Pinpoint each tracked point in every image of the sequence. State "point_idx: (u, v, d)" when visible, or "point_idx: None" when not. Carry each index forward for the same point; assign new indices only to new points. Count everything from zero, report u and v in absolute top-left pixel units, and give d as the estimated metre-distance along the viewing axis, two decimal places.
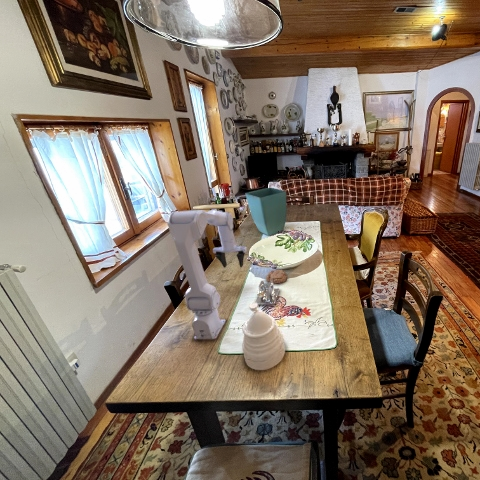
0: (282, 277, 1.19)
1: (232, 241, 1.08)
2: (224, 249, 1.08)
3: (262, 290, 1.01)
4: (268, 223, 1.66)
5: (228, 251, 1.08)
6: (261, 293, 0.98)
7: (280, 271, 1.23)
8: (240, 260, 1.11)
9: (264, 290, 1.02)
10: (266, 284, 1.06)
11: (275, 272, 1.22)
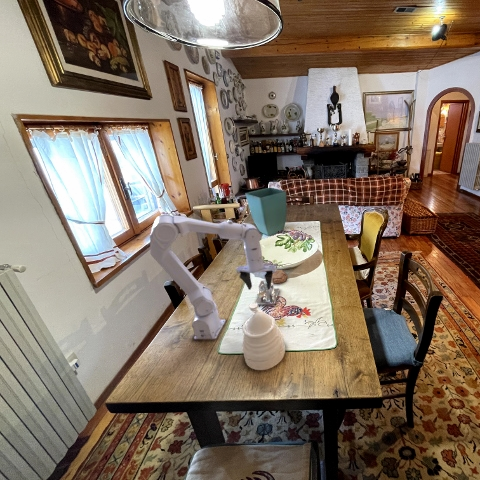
0: (282, 277, 1.19)
1: (260, 259, 0.91)
2: (250, 269, 0.91)
3: (262, 290, 1.01)
4: (268, 223, 1.66)
5: (255, 271, 0.91)
6: (261, 293, 0.98)
7: (280, 271, 1.23)
8: (268, 281, 0.94)
9: (264, 290, 1.02)
10: (266, 284, 1.06)
11: None
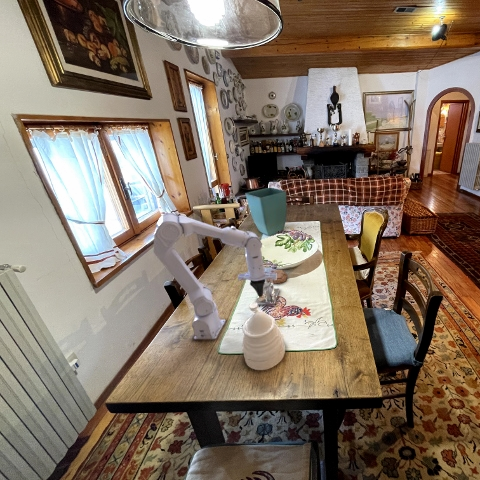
0: (282, 277, 1.19)
1: (261, 267, 0.92)
2: (251, 276, 0.92)
3: None
4: (268, 223, 1.66)
5: (256, 279, 0.92)
6: (261, 297, 0.98)
7: (280, 271, 1.23)
8: (260, 289, 0.95)
9: (264, 292, 1.02)
10: (266, 284, 1.06)
11: (275, 272, 1.22)
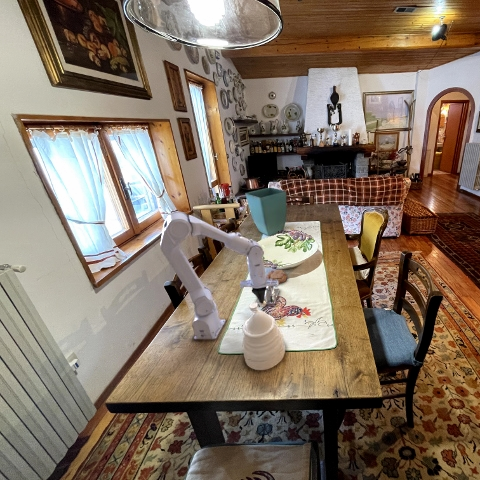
0: (282, 277, 1.19)
1: (263, 275, 0.94)
2: (253, 284, 0.94)
3: None
4: (268, 223, 1.66)
5: (258, 286, 0.94)
6: (263, 305, 1.00)
7: (280, 271, 1.23)
8: (262, 296, 0.97)
9: (265, 296, 1.03)
10: None
11: (275, 272, 1.22)
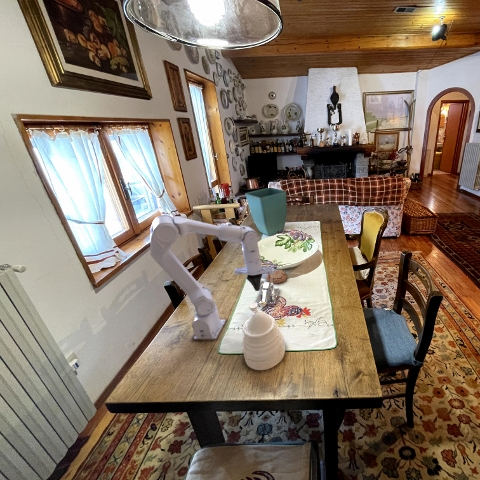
0: (282, 277, 1.19)
1: (258, 262, 0.92)
2: (248, 270, 0.92)
3: (263, 297, 1.02)
4: (268, 223, 1.66)
5: (253, 273, 0.92)
6: (263, 305, 1.00)
7: (280, 271, 1.23)
8: (257, 283, 0.96)
9: (265, 296, 1.03)
10: (266, 285, 1.05)
11: (275, 272, 1.22)
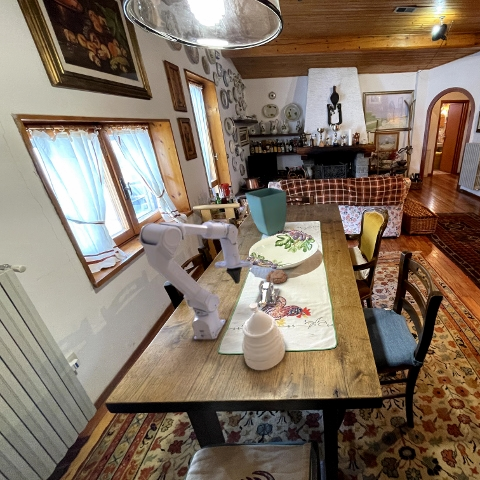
0: (282, 277, 1.19)
1: (236, 255, 0.97)
2: (227, 264, 0.97)
3: (263, 297, 1.02)
4: (268, 223, 1.66)
5: (232, 266, 0.97)
6: (263, 305, 1.00)
7: (280, 271, 1.23)
8: (236, 276, 1.01)
9: (265, 296, 1.03)
10: (266, 285, 1.05)
11: (275, 272, 1.22)
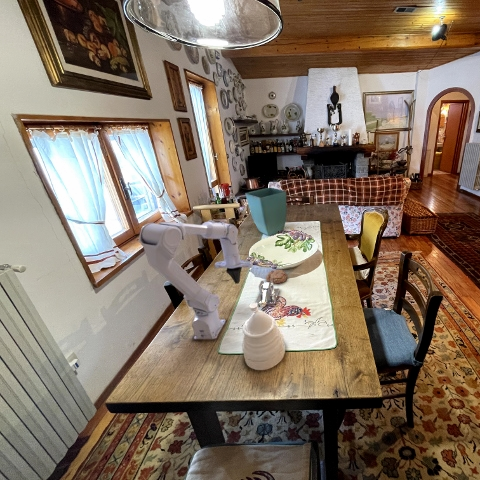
0: (282, 277, 1.19)
1: (236, 255, 0.97)
2: (227, 264, 0.97)
3: (263, 297, 1.02)
4: (268, 223, 1.66)
5: (232, 266, 0.97)
6: (263, 305, 1.00)
7: (280, 271, 1.23)
8: (236, 276, 1.01)
9: (265, 296, 1.03)
10: (266, 285, 1.05)
11: (275, 272, 1.22)
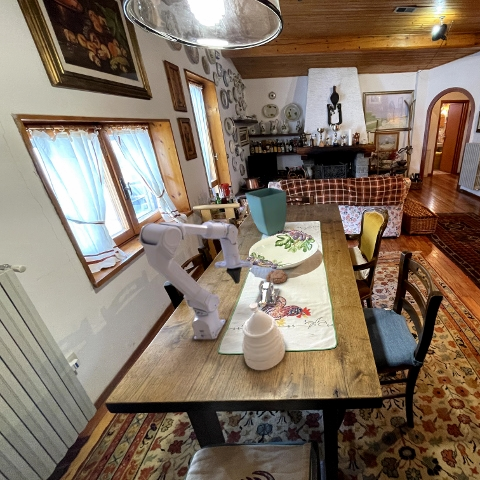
0: (282, 277, 1.19)
1: (236, 255, 0.97)
2: (227, 264, 0.97)
3: (263, 297, 1.02)
4: (268, 223, 1.66)
5: (232, 266, 0.97)
6: (263, 305, 1.00)
7: (280, 271, 1.23)
8: (236, 276, 1.01)
9: (265, 296, 1.03)
10: (266, 285, 1.05)
11: (275, 272, 1.22)
